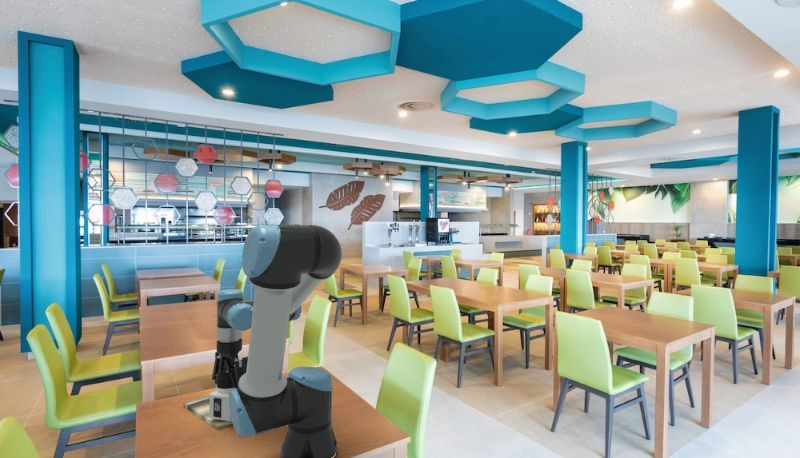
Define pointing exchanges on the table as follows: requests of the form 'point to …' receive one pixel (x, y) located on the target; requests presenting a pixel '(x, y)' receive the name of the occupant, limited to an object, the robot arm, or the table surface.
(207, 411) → the metal panel
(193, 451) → the table surface
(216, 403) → the container
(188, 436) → the table surface
